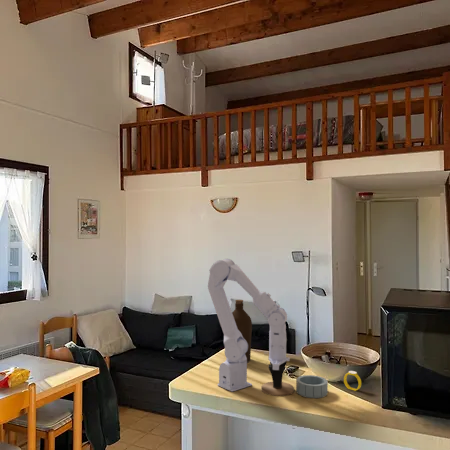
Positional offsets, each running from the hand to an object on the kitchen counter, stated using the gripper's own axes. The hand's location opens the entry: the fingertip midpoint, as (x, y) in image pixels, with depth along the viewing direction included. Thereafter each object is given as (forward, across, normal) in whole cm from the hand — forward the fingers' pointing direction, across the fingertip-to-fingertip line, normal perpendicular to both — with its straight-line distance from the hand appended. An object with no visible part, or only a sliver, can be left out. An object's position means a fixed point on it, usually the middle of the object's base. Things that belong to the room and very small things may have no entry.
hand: (277, 384), depth 145 cm
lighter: (+2, +15, -18) cm, 24 cm away
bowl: (+2, 0, -11) cm, 12 cm away
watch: (+2, +6, -25) cm, 26 cm away
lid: (+2, 0, 0) cm, 2 cm away
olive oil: (+2, +30, +19) cm, 35 cm away
